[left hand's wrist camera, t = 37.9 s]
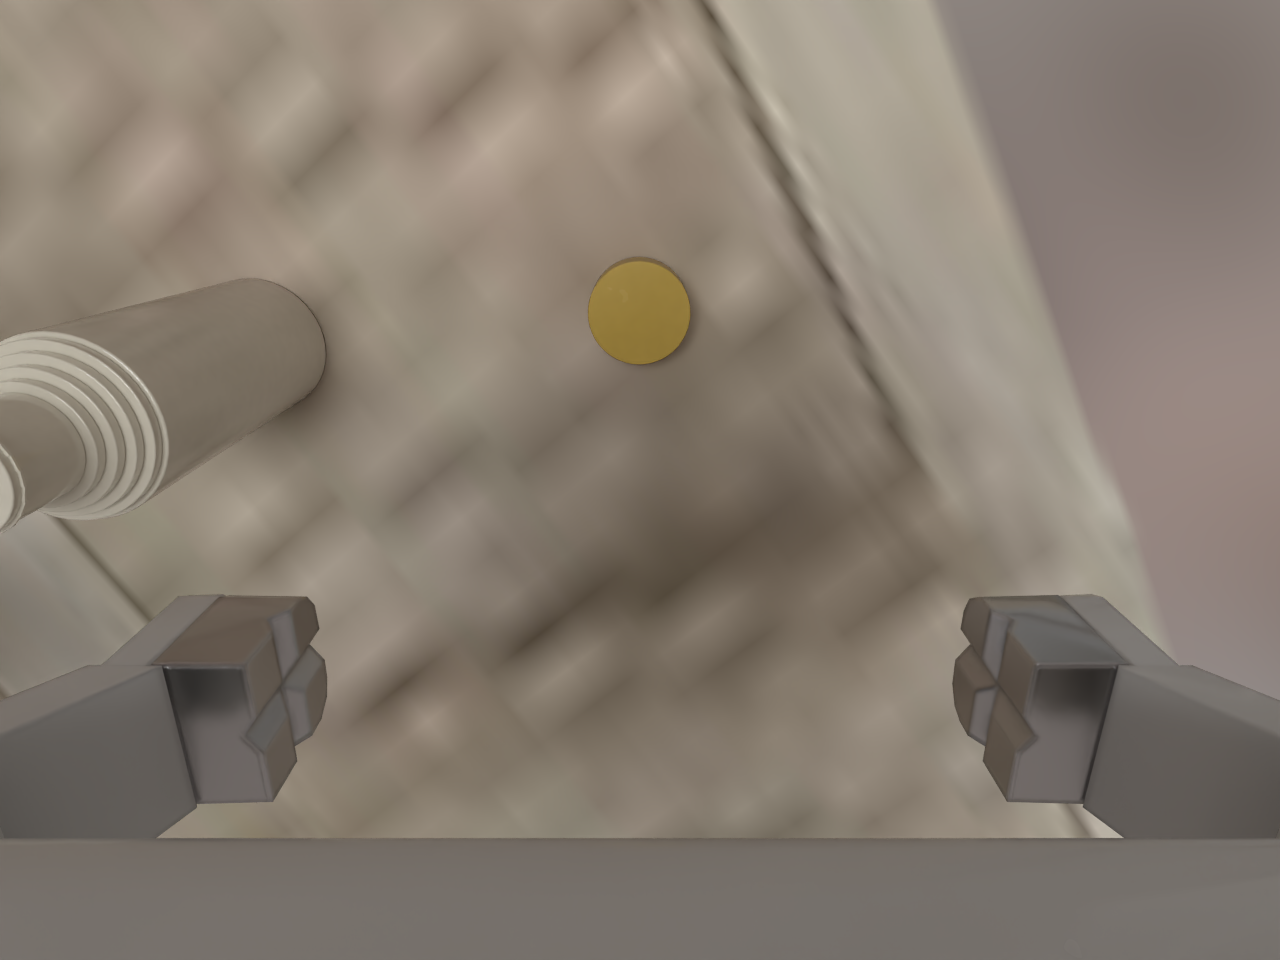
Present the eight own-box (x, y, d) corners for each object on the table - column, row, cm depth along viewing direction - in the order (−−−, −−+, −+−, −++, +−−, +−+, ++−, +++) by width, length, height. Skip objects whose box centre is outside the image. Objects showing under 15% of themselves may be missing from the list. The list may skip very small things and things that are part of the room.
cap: (659, 238, 36) (660, 241, 34) (704, 326, 37) (708, 334, 35) (572, 287, 37) (569, 293, 35) (620, 371, 38) (619, 382, 36)
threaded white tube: (316, 278, 37) (34, 365, 20) (334, 408, 39) (95, 588, 22) (181, 278, 37) (-219, 364, 20) (207, 408, 39) (-133, 588, 22)
